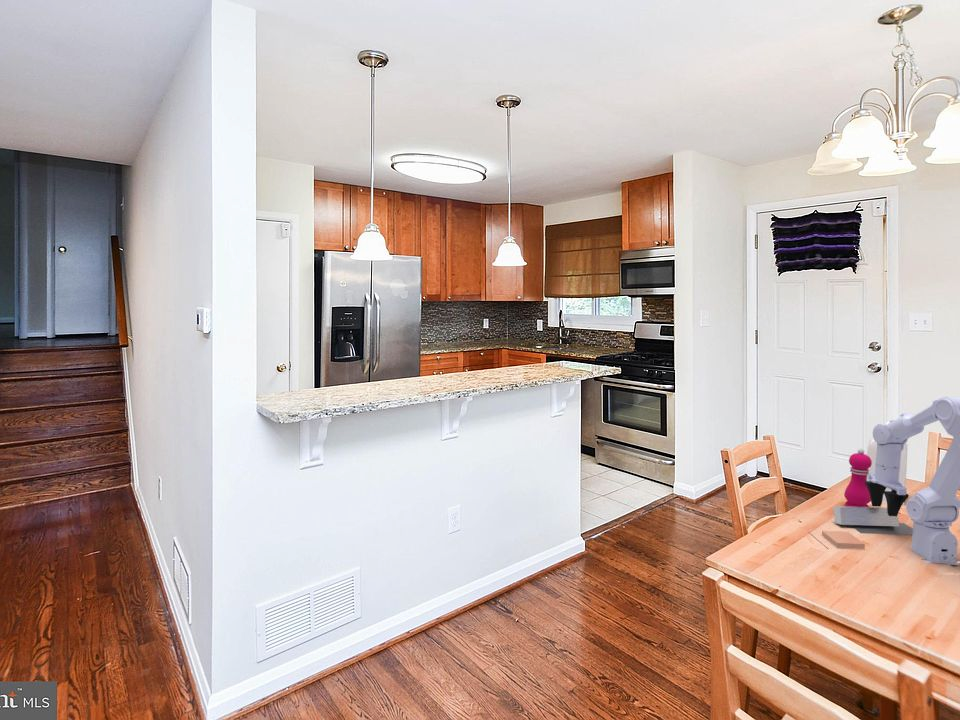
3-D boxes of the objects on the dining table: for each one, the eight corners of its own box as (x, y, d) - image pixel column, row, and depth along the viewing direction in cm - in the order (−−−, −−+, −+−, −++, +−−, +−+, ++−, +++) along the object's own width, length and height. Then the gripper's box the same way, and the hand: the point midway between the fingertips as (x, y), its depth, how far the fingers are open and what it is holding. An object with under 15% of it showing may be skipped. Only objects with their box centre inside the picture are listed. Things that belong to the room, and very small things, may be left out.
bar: (898, 526, 161) (897, 508, 162) (841, 524, 162) (839, 507, 163) (890, 524, 165) (889, 507, 165) (834, 523, 166) (833, 506, 167)
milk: (864, 489, 198) (870, 418, 195) (905, 497, 190) (911, 422, 188) (861, 499, 188) (866, 424, 186) (903, 507, 181) (910, 429, 178)
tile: (847, 537, 156) (864, 549, 148) (821, 536, 157) (836, 548, 149) (848, 531, 156) (864, 544, 148) (822, 530, 157) (837, 542, 149)
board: (924, 538, 157) (924, 535, 157) (860, 535, 159) (860, 533, 159) (903, 525, 166) (903, 523, 166) (843, 523, 168) (843, 520, 168)
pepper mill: (874, 514, 175) (879, 452, 173) (849, 512, 176) (853, 451, 174) (863, 506, 182) (868, 446, 180) (839, 504, 183) (843, 445, 181)
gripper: (858, 458, 168) (855, 501, 169) (888, 472, 154) (885, 519, 155) (883, 458, 167) (880, 502, 169) (916, 473, 153) (912, 520, 154)
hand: (884, 510), depth 162 cm, fingers open, 7 cm apart
